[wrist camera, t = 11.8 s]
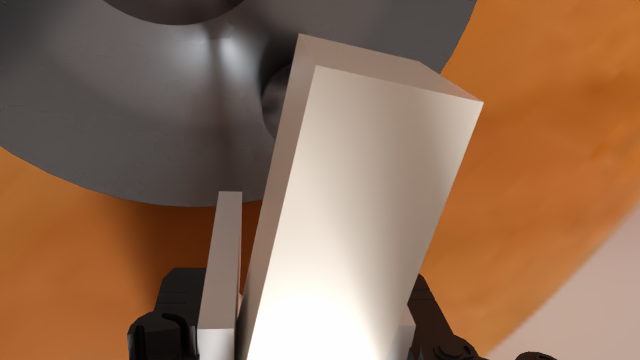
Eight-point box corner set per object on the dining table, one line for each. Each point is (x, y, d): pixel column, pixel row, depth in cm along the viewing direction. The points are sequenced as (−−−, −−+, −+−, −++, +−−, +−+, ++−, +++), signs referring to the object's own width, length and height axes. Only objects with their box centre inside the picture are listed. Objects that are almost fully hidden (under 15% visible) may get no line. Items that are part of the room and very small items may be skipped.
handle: (287, 11, 15) (319, 71, 7) (373, 32, 15) (497, 111, 7) (238, 254, 18) (220, 487, 10) (309, 264, 19) (346, 492, 11)
